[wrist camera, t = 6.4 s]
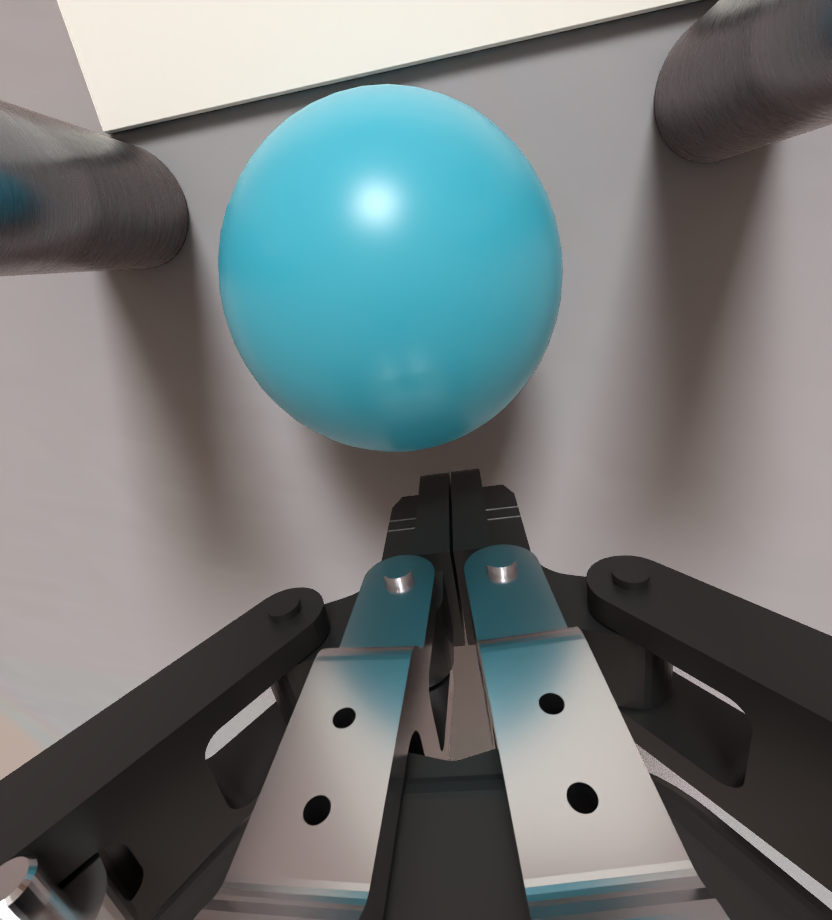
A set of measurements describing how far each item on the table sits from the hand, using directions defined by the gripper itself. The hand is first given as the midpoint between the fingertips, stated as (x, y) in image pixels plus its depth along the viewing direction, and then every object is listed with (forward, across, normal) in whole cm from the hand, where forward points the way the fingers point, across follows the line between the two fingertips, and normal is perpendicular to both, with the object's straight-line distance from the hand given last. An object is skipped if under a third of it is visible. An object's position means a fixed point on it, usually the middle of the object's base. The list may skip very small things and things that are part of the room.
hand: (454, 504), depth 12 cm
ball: (-2, 0, -6) cm, 6 cm away
